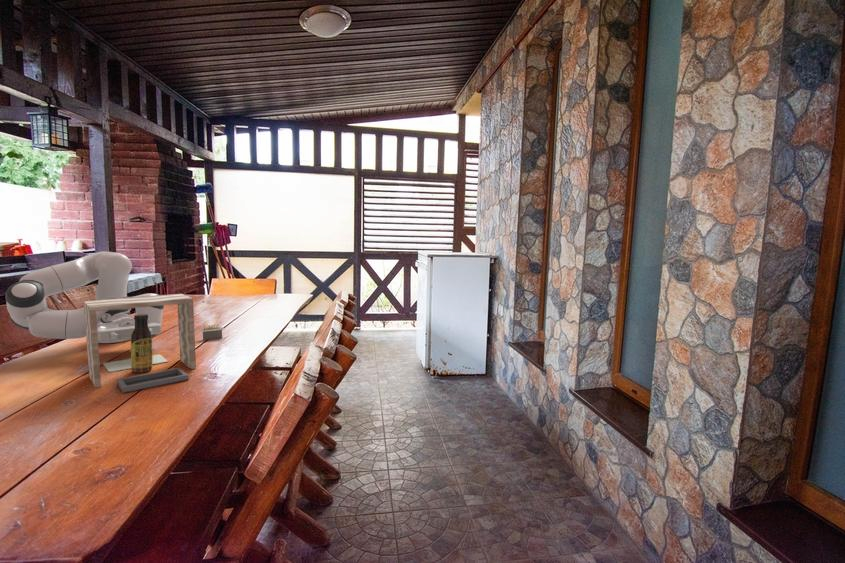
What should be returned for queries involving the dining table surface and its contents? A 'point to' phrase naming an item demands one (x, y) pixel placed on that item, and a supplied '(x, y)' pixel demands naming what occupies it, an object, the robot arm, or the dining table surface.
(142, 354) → the sauce bottle
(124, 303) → the tunnel
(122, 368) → the pad
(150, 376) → the tray
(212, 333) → the platform
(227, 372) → the dining table surface
